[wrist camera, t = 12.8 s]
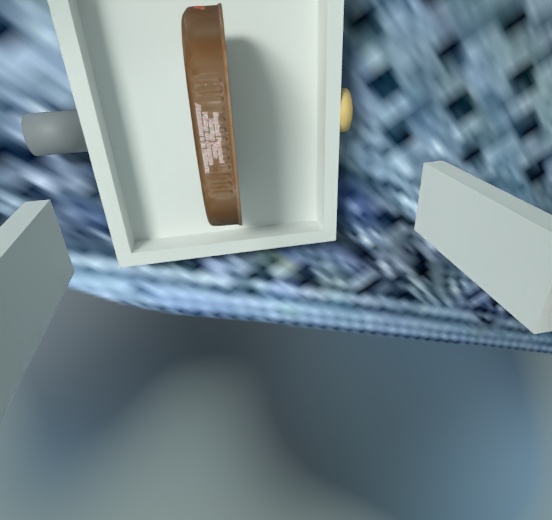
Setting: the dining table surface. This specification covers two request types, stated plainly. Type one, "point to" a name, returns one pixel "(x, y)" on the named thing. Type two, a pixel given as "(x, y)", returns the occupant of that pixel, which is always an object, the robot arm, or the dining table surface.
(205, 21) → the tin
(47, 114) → the white square dish
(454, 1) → the dining table surface
